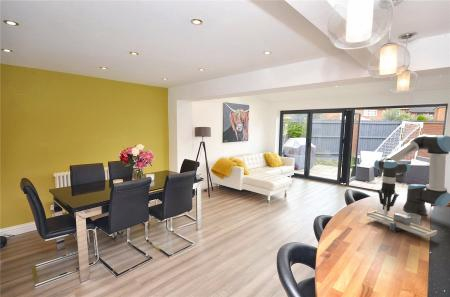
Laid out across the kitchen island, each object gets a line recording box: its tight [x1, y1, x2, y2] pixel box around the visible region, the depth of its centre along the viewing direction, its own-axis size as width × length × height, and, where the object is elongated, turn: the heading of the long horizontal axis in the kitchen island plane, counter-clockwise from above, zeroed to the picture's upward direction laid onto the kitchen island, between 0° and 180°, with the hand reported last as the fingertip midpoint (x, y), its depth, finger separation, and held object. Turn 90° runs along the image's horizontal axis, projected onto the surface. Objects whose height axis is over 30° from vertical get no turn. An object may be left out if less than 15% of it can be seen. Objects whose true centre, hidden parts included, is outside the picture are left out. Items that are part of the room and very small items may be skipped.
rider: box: [393, 212, 411, 226], centre depth 151 cm, size 4×8×6 cm, turn 27°
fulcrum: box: [389, 222, 403, 234], centre depth 153 cm, size 15×3×6 cm, turn 117°
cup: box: [404, 212, 422, 226], centre depth 158 cm, size 7×10×9 cm
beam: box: [366, 209, 438, 239], centre depth 152 cm, size 12×36×2 cm, turn 27°
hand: (385, 214), depth 160 cm, fingers closed
